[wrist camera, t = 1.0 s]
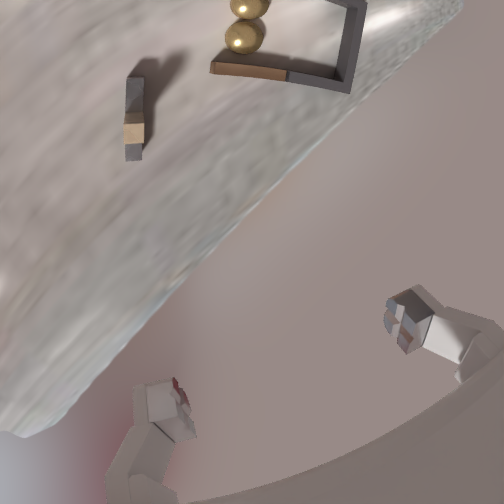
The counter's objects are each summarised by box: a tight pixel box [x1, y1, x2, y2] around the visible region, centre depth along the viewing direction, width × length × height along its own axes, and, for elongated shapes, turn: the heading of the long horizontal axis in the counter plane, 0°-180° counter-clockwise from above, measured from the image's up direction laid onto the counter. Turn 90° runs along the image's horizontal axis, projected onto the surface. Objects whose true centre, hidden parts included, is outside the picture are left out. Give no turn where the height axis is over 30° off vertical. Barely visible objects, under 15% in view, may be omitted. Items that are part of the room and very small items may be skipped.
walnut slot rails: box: [210, 62, 287, 81], centre depth 29 cm, size 15×9×2 cm, turn 171°
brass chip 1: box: [230, 0, 269, 20], centre depth 27 cm, size 4×4×2 cm
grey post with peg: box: [124, 76, 144, 161], centre depth 29 cm, size 10×2×9 cm, turn 171°
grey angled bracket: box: [285, 0, 368, 94], centre depth 32 cm, size 15×10×2 cm, turn 171°
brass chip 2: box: [225, 21, 263, 54], centre depth 30 cm, size 4×4×2 cm
